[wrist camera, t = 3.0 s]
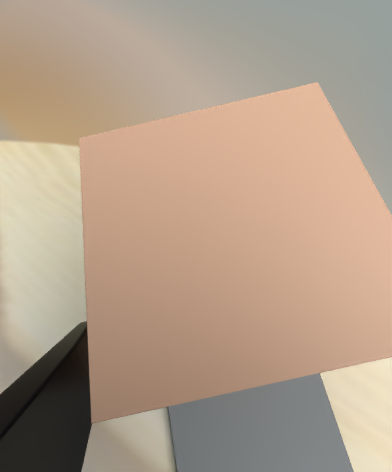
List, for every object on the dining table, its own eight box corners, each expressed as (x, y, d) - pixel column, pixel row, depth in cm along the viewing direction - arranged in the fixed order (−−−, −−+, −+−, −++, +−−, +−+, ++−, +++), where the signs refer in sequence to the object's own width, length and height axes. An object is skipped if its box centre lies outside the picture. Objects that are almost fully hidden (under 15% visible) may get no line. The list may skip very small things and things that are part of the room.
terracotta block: (273, 341, 16) (462, 341, 3) (195, 358, 16) (90, 423, 4) (250, 265, 18) (317, 82, 5) (180, 281, 18) (79, 138, 5)
